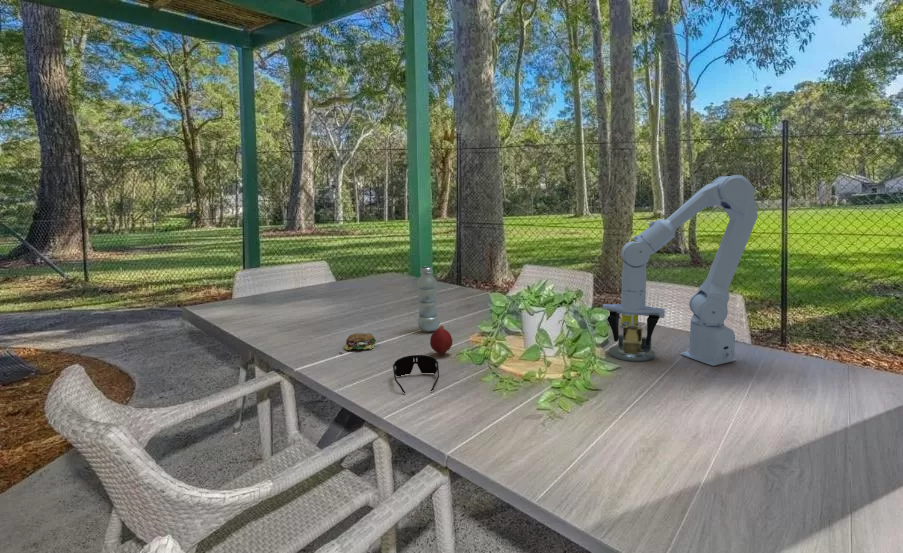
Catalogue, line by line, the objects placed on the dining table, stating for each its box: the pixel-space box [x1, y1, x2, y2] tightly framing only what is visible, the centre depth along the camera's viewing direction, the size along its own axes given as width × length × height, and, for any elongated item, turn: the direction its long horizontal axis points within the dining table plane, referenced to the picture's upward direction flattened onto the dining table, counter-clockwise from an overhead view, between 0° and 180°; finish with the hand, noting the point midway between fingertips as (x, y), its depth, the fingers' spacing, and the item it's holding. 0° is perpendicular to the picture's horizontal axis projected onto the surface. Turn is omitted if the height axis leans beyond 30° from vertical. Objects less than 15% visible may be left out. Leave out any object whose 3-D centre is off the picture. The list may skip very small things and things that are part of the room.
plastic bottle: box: [416, 266, 440, 333], centre depth 150 cm, size 6×7×20 cm
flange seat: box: [608, 334, 656, 363], centre depth 124 cm, size 11×11×3 cm
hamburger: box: [344, 332, 377, 351], centre depth 136 cm, size 14×14×6 cm
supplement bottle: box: [621, 314, 639, 327], centre depth 149 cm, size 5×5×8 cm
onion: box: [429, 324, 453, 355], centre depth 128 cm, size 6×6×8 cm
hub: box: [622, 325, 643, 353], centre depth 125 cm, size 5×5×6 cm
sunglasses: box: [392, 354, 440, 393], centre depth 110 cm, size 10×12×5 cm
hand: (631, 342), depth 124 cm, fingers open, 7 cm apart
